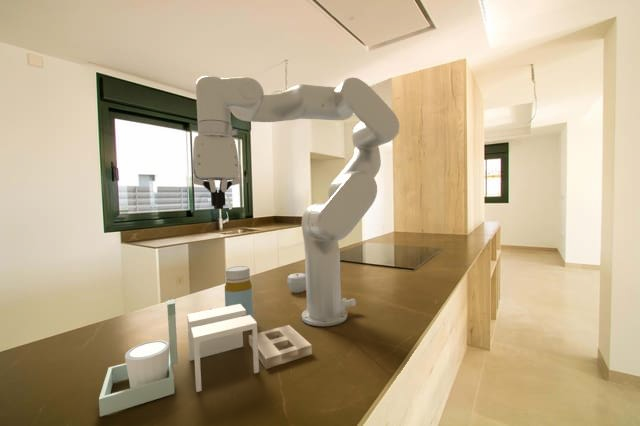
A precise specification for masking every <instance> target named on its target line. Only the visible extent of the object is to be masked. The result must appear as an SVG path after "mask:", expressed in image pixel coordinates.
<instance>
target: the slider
mask: <svg viewBox="0 0 640 426" xmlns="http://www.w3.org/2000/svg"><path fill="white" fill-rule="evenodd" d="M166 305H167V321H168V323H167V324H168V342H169V344H170V349H169V371H168V378H165V379H161V380H158V381H154V382H151V383H147V384H144V385H140V386H137V387H133V388H126V389H123V390H120V391H116V392H112V388H113V384H114V383H117V382H119V381H123V380H127V379H128V380H129V377H128V372H127V366H126V362H125V363H121V364H117V365H114V366H108V368H107V373H106V375H105V377H104V381H103V385H102V388H101V391H100V394H99V398H98V407H99V408H98V409H99V417H103V416H106V415H110V414H113V413H116V412H120V411H122V410H125V409H128V408H132V407H135V406H139V405H141V404H144V403H147V402H148V403H149V402H152V401H155V400H157V399H161V398H164V397H167V396H171V395H174V394H175V379H174V378H175V377H174V365H178V364H179V360H178V355H179V354H178V339H177V338H178V337H177V321H176V320H177V319H176V301H175V299H174V298H173V299H167V301H166ZM111 392H112V393H111Z"/></svg>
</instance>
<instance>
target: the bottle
mask: <svg viewBox="0 0 640 426" xmlns="http://www.w3.org/2000/svg"><path fill="white" fill-rule="evenodd" d="M250 274H251V273H250V267H249V266H248V265H247V266H246V265H240V266H239V265H237V266H230V267H227V268H225V286H224V304H225V306H224V307H227V306H232V305H237V304H241V305H242V306H243V307H244V309H245V310H246V315H243V316H247V315H251V317H252V318H253V319H254V309H253V308H254V306H253V288H252V287H253V285H252V282H251V280H250V279H251V275H250ZM243 316H242V317H243Z"/></svg>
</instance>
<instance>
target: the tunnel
mask: <svg viewBox="0 0 640 426" xmlns="http://www.w3.org/2000/svg"><path fill="white" fill-rule="evenodd" d="M243 315H246V310H245V309H244V307H243V306H242V305H241V304H237V305H232V306H227V307H225V306H222V307H218V308H211V309H207V310H202V311H197V312H192V313H187V316H186V317H187V336H188V354H189V355H188V356H189V361H193V360H194V377H195V378H194V380H195V390H196V393H199V392H201V391H202V390H203V389H202V376H201V375H202V373H201V358H206V357H210V356H213V355H216V354H220V353H224V352H228V351H232V350H236V349H239V348H242V347H244V338H243V337H244V336H243V334H244V333H243V332H247V331H250V330H251V335H252V343H253V349H252V360H253V361H252V363H253V373H254V374H258V373H260V364H259V361H260V359H259V358H258V335H257V333H258V323H257V321H256V319H254V317H253V318H252V317H251V315H247V316H243ZM242 316H243V317H242Z"/></svg>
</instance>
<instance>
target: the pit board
mask: <svg viewBox="0 0 640 426" xmlns="http://www.w3.org/2000/svg"><path fill="white" fill-rule="evenodd" d="M257 335H258V359H259V361H260V362H261V363H262V365H263V366H264V368H265V370H267V369H268V370H269V369H270V368H274V367H276V366H280V365H283V364H287V363H289V362H293V361H295V360H298V359H299V360H300V359H301V358H304V357H308V356H311V355H313V348H312V347H313V345H312V344H311V343H310V342H309V341H308V340H307V339H305V337H304V336H302V335H301V334H300V333H299V332H298V331H296V330H295V328H293V327H292V325H290V324H288V325H283V326H279V327H275V328H271V329H268V330H265V331H260V332H257ZM248 344H249V346H250V347H251V349H252V350H253V343H252V334H249V335H248Z"/></svg>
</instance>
